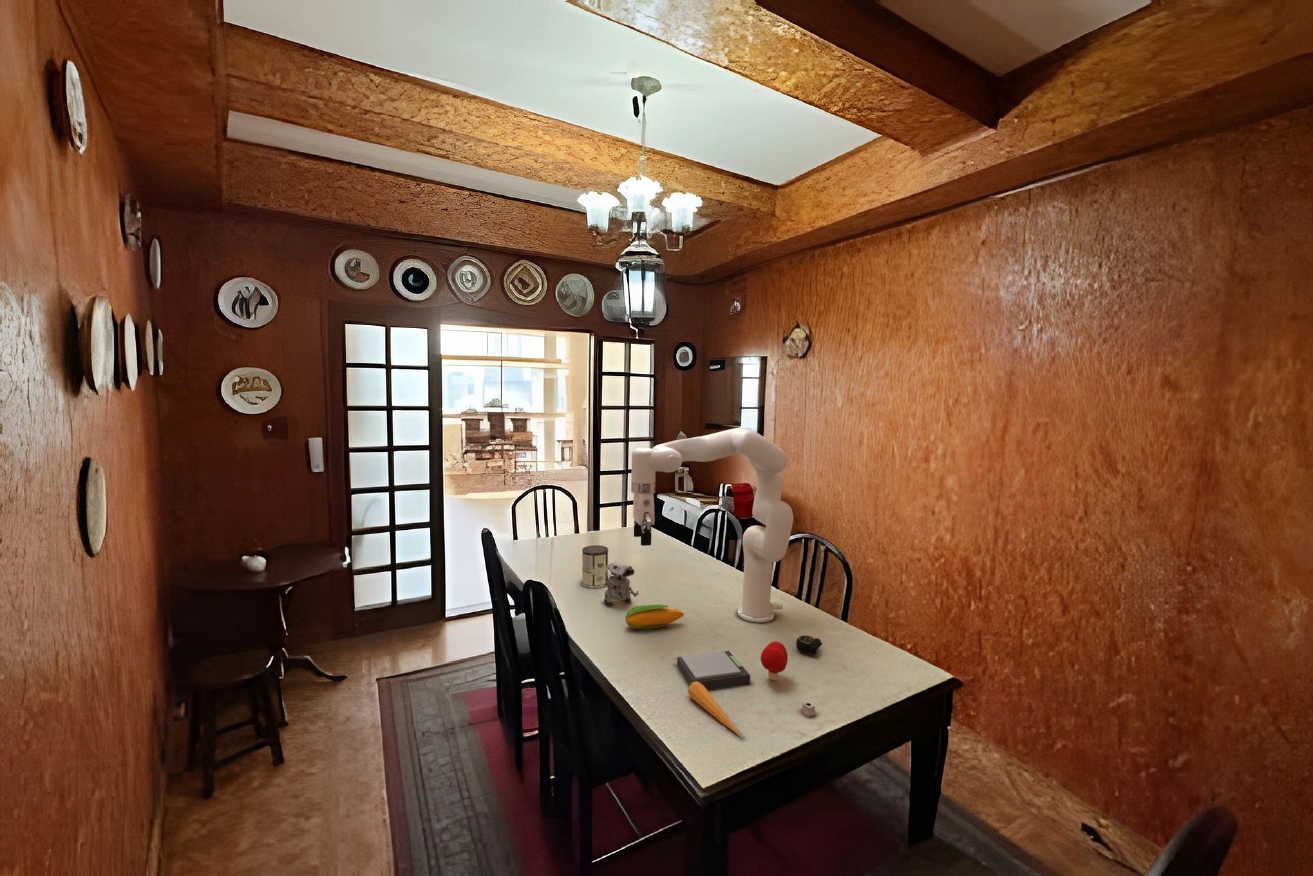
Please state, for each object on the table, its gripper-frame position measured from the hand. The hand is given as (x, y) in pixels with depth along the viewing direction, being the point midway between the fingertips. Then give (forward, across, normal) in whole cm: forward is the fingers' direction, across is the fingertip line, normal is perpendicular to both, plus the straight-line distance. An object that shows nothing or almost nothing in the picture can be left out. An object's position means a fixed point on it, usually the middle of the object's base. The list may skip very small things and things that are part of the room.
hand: (642, 540), depth 176 cm
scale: (+30, -30, -14) cm, 44 cm away
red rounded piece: (+31, -36, -29) cm, 55 cm away
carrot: (+30, -48, -7) cm, 57 cm away
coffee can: (+30, +46, +8) cm, 56 cm away
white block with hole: (+31, -52, -30) cm, 67 cm away
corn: (+30, +3, -6) cm, 31 cm away
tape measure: (+31, -24, -47) cm, 61 cm away
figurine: (+30, +23, +2) cm, 38 cm away
